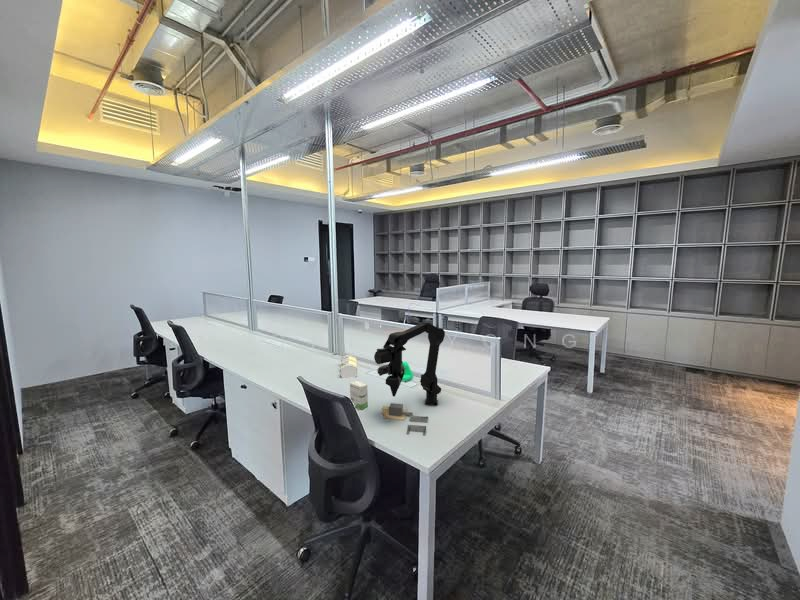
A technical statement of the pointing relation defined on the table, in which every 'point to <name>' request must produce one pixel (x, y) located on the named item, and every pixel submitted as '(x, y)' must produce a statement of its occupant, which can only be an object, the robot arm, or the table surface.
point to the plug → (395, 410)
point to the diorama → (349, 367)
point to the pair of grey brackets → (417, 427)
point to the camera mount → (407, 372)
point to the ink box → (359, 394)
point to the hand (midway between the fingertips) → (395, 392)
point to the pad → (395, 416)
